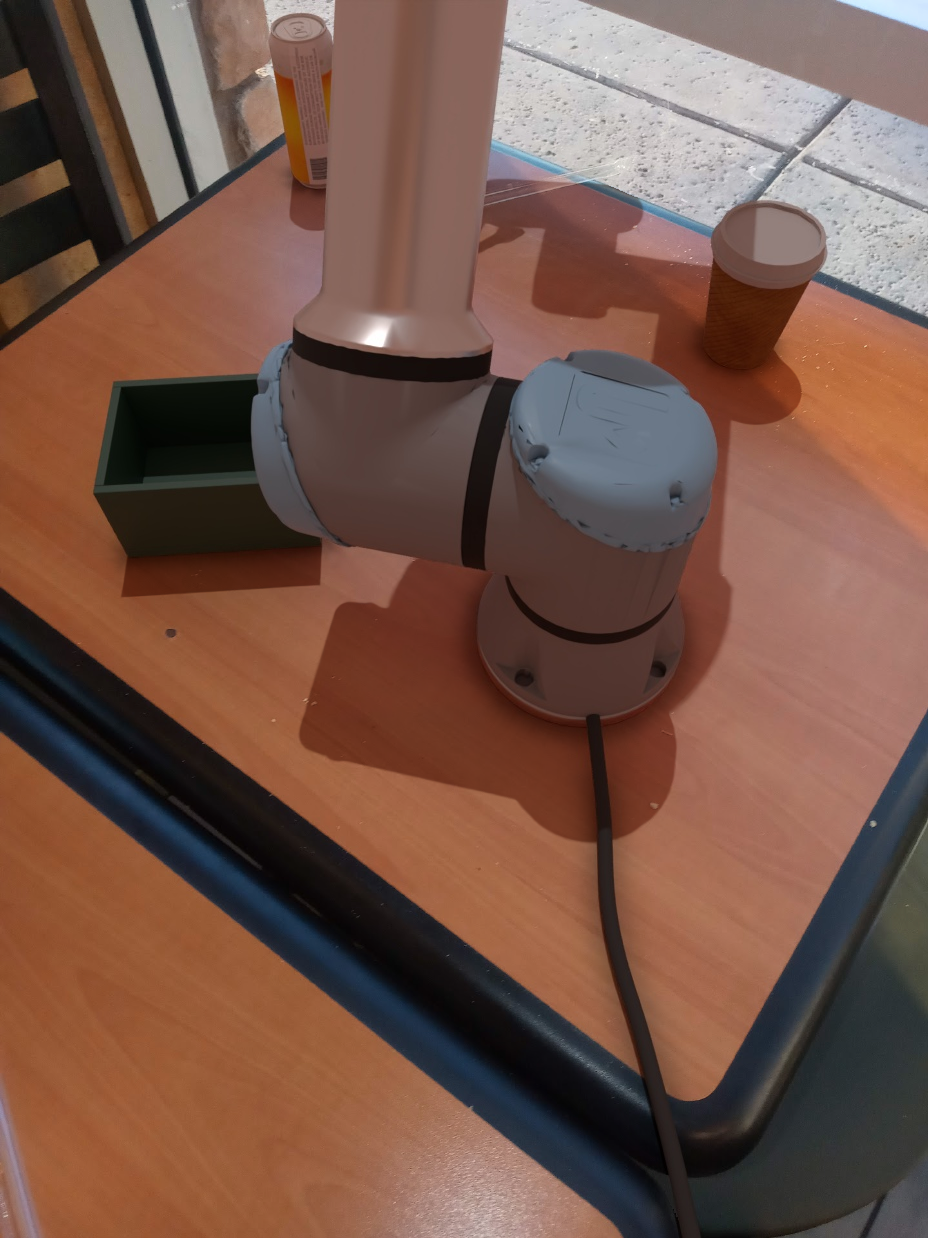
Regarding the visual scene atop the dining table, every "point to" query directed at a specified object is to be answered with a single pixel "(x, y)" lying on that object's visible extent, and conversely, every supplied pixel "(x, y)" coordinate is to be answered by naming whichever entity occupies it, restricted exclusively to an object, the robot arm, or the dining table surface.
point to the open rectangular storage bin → (186, 469)
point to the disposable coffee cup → (758, 278)
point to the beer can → (304, 92)
